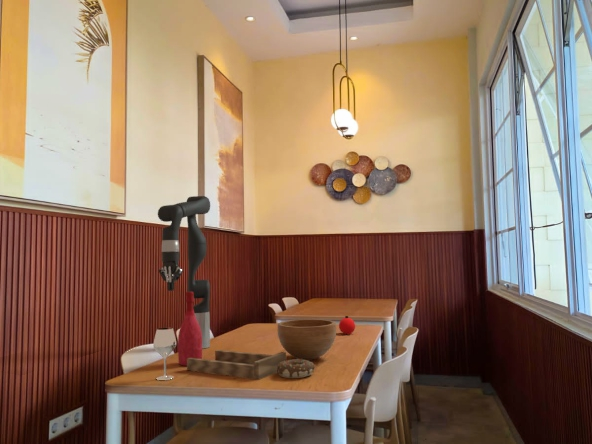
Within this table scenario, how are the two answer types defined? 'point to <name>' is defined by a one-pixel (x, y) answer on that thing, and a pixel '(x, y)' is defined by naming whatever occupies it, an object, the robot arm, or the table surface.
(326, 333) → the bowl
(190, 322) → the wine bottle
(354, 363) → the table surface
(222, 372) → the tray
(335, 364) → the table surface
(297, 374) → the donut
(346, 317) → the ornament
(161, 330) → the wineglass
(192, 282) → the robot arm
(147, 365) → the table surface
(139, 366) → the table surface
